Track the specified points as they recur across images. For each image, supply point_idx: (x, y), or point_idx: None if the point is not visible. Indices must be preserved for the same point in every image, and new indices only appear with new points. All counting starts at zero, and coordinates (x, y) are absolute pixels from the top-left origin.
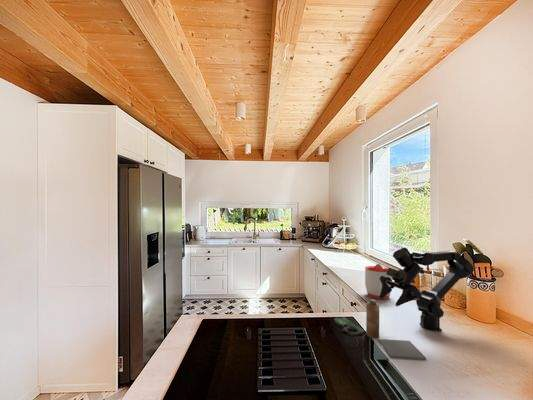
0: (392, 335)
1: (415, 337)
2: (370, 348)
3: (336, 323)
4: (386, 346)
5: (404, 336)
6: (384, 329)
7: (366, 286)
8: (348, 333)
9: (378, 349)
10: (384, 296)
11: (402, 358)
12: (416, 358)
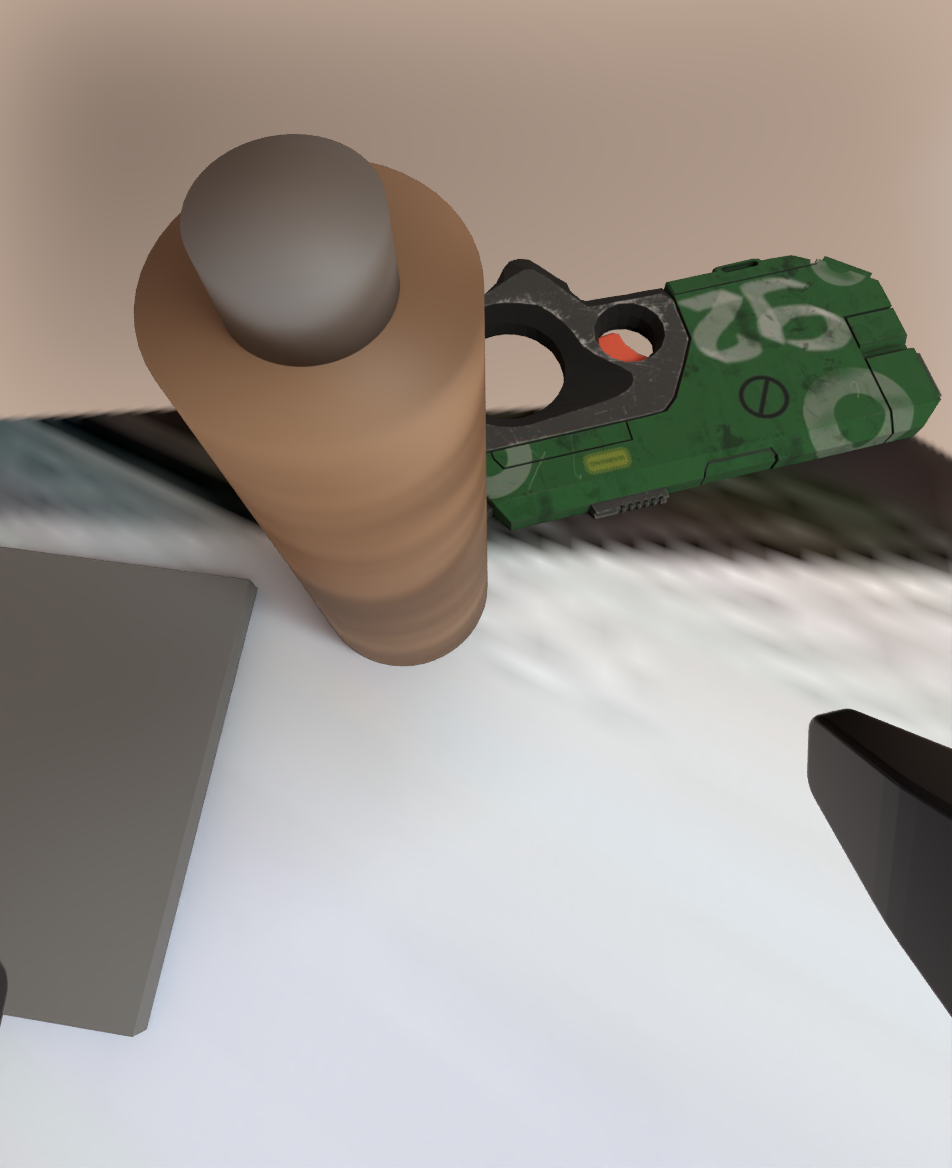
0: (395, 886)
1: None
2: (116, 424)
3: (731, 269)
4: (56, 586)
5: (349, 1085)
6: (599, 868)
7: None
8: None
9: (79, 498)
10: (927, 973)
11: None
12: None
